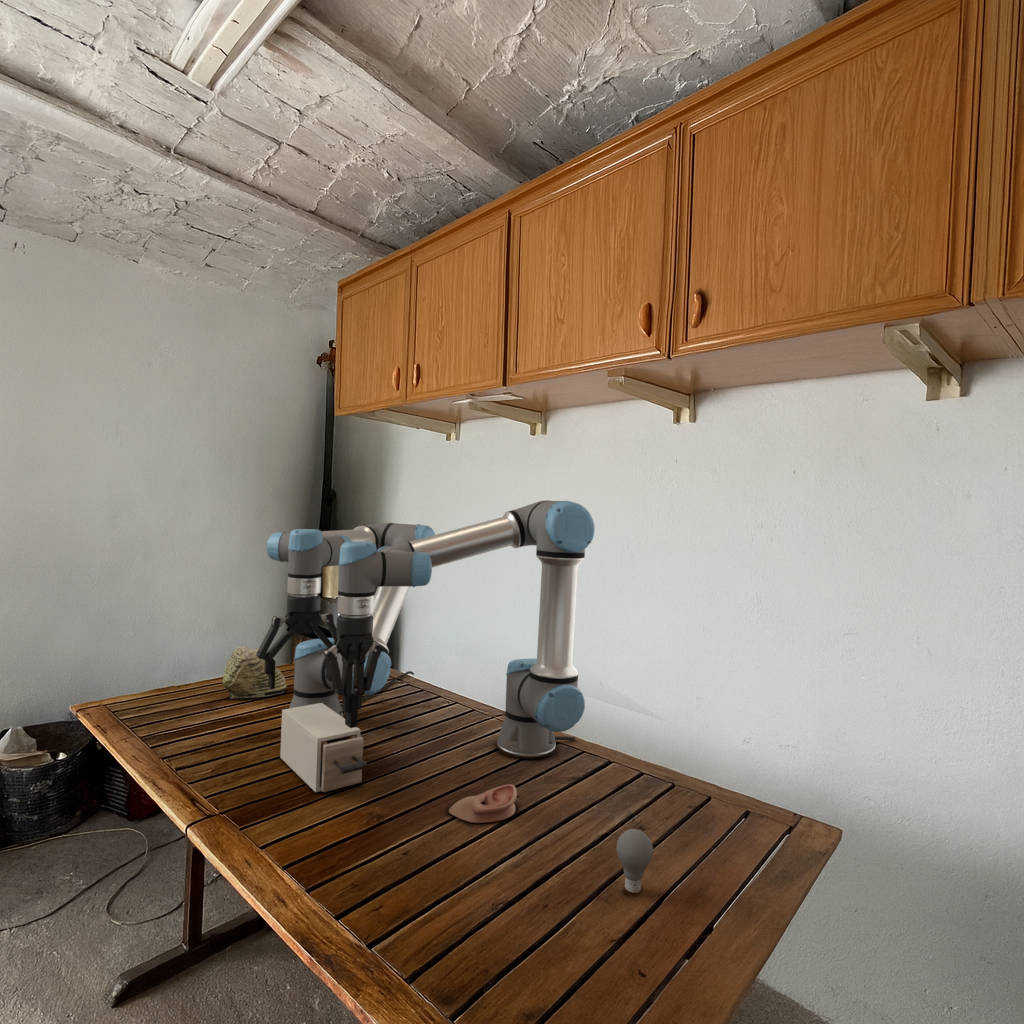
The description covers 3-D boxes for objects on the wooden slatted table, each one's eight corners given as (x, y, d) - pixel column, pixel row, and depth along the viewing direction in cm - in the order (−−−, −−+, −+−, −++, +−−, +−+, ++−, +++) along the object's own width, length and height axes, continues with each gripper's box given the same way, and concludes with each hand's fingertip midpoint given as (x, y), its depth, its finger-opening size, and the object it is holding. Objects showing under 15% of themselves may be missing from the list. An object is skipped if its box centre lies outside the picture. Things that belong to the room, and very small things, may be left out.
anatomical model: (444, 799, 126) (460, 775, 138) (443, 818, 126) (460, 793, 138) (509, 808, 124) (520, 783, 135) (508, 828, 124) (519, 801, 135)
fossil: (218, 695, 195) (220, 647, 195) (278, 685, 208) (279, 640, 207) (228, 703, 189) (230, 653, 188) (289, 692, 201) (290, 645, 201)
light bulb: (610, 879, 108) (613, 822, 108) (644, 879, 109) (647, 822, 109) (619, 902, 102) (622, 840, 102) (655, 901, 103) (658, 840, 103)
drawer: (373, 791, 135) (375, 746, 135) (334, 802, 130) (336, 755, 129) (324, 750, 155) (325, 711, 155) (288, 758, 150) (290, 717, 150)
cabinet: (358, 781, 142) (360, 729, 142) (315, 792, 136) (317, 738, 135) (320, 748, 159) (321, 702, 158) (280, 757, 152) (282, 709, 152)
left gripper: (252, 600, 139) (249, 695, 140) (360, 594, 154) (357, 680, 154) (244, 595, 145) (241, 686, 146) (349, 589, 160) (346, 673, 160)
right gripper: (333, 620, 127) (328, 737, 127) (391, 615, 135) (387, 725, 135) (318, 614, 133) (314, 726, 133) (375, 609, 141) (370, 714, 141)
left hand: (301, 683), depth 150 cm, fingers open, 13 cm apart
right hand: (351, 725), depth 134 cm, fingers closed
